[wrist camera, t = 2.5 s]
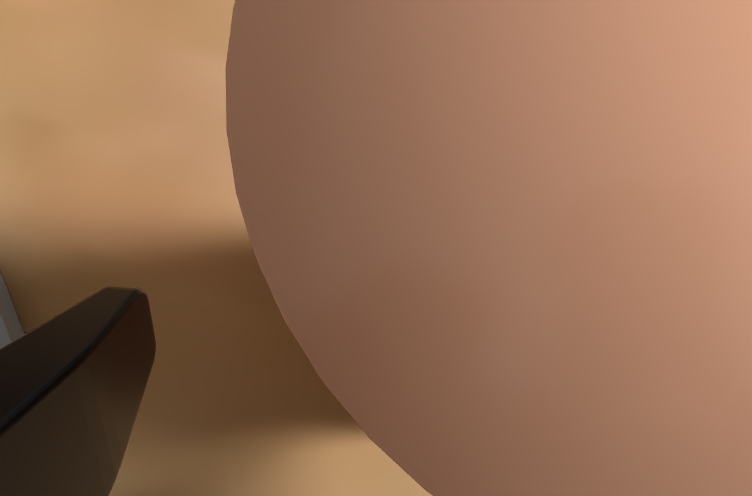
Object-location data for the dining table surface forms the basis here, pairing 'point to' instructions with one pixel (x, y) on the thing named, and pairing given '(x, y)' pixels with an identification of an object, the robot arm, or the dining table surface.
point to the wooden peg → (511, 231)
